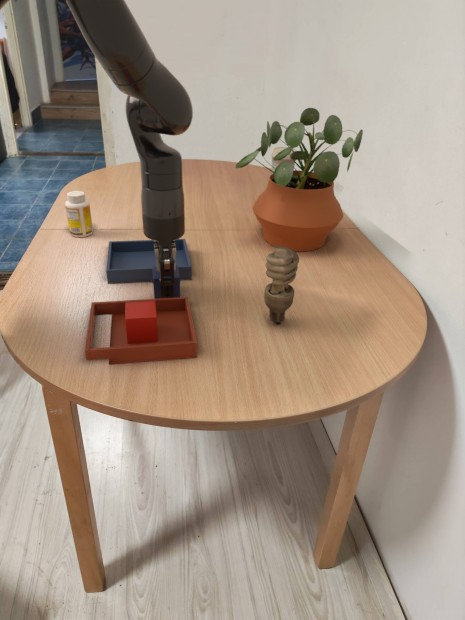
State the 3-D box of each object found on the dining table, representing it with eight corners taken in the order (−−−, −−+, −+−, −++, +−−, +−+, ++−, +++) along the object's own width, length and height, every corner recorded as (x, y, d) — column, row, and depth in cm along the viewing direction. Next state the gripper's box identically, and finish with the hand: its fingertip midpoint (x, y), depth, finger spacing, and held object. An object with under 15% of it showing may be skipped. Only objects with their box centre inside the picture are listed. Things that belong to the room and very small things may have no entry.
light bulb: (282, 335, 80) (292, 258, 72) (254, 325, 82) (261, 250, 74) (295, 320, 84) (305, 246, 76) (268, 311, 86) (276, 238, 78)
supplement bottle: (90, 227, 116) (85, 188, 110) (95, 236, 112) (90, 195, 106) (68, 230, 114) (61, 190, 108) (71, 239, 109) (65, 198, 104)
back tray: (107, 283, 92) (106, 270, 91) (110, 253, 104) (109, 241, 102) (191, 279, 95) (191, 266, 94) (185, 250, 107) (185, 238, 105)
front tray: (87, 366, 71) (84, 351, 69) (93, 316, 82) (91, 302, 81) (197, 357, 74) (197, 342, 72) (188, 310, 85) (187, 296, 84)
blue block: (154, 301, 88) (153, 278, 85) (153, 288, 92) (152, 266, 89) (180, 299, 88) (179, 277, 86) (178, 287, 93) (177, 265, 90)
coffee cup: (264, 188, 149) (267, 150, 143) (272, 181, 156) (276, 145, 149) (289, 192, 147) (293, 154, 140) (296, 185, 153) (301, 148, 147)
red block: (127, 343, 75) (124, 318, 72) (127, 326, 79) (125, 302, 77) (157, 341, 76) (156, 316, 73) (156, 324, 80) (155, 300, 77)
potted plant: (355, 255, 109) (383, 122, 93) (242, 264, 102) (251, 123, 86) (317, 219, 127) (335, 104, 111) (219, 225, 121) (223, 103, 104)
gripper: (188, 224, 75) (189, 310, 85) (180, 195, 87) (182, 273, 96) (142, 225, 74) (148, 312, 83) (141, 196, 86) (146, 275, 95)
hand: (166, 291), depth 90 cm, fingers closed on blue block, 5 cm apart
